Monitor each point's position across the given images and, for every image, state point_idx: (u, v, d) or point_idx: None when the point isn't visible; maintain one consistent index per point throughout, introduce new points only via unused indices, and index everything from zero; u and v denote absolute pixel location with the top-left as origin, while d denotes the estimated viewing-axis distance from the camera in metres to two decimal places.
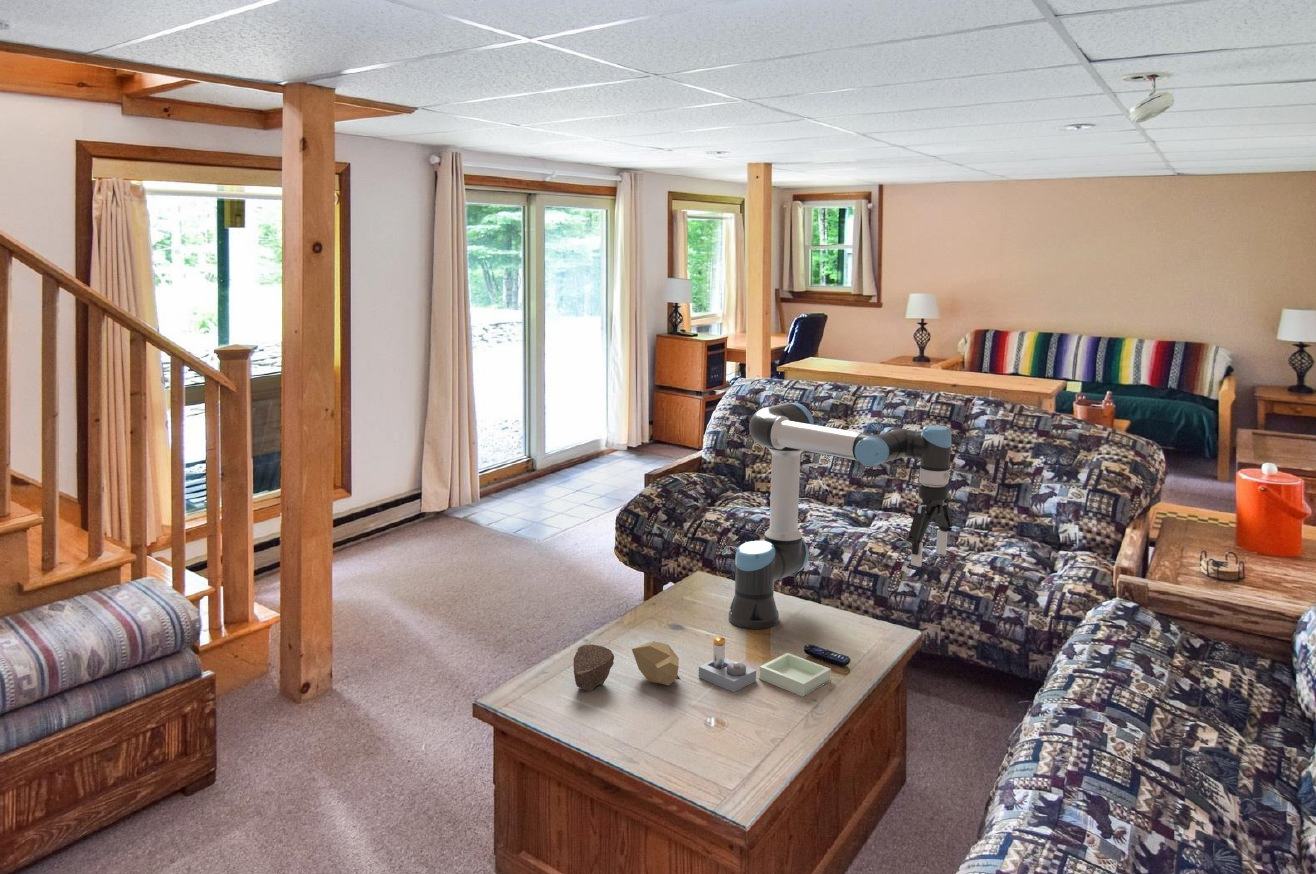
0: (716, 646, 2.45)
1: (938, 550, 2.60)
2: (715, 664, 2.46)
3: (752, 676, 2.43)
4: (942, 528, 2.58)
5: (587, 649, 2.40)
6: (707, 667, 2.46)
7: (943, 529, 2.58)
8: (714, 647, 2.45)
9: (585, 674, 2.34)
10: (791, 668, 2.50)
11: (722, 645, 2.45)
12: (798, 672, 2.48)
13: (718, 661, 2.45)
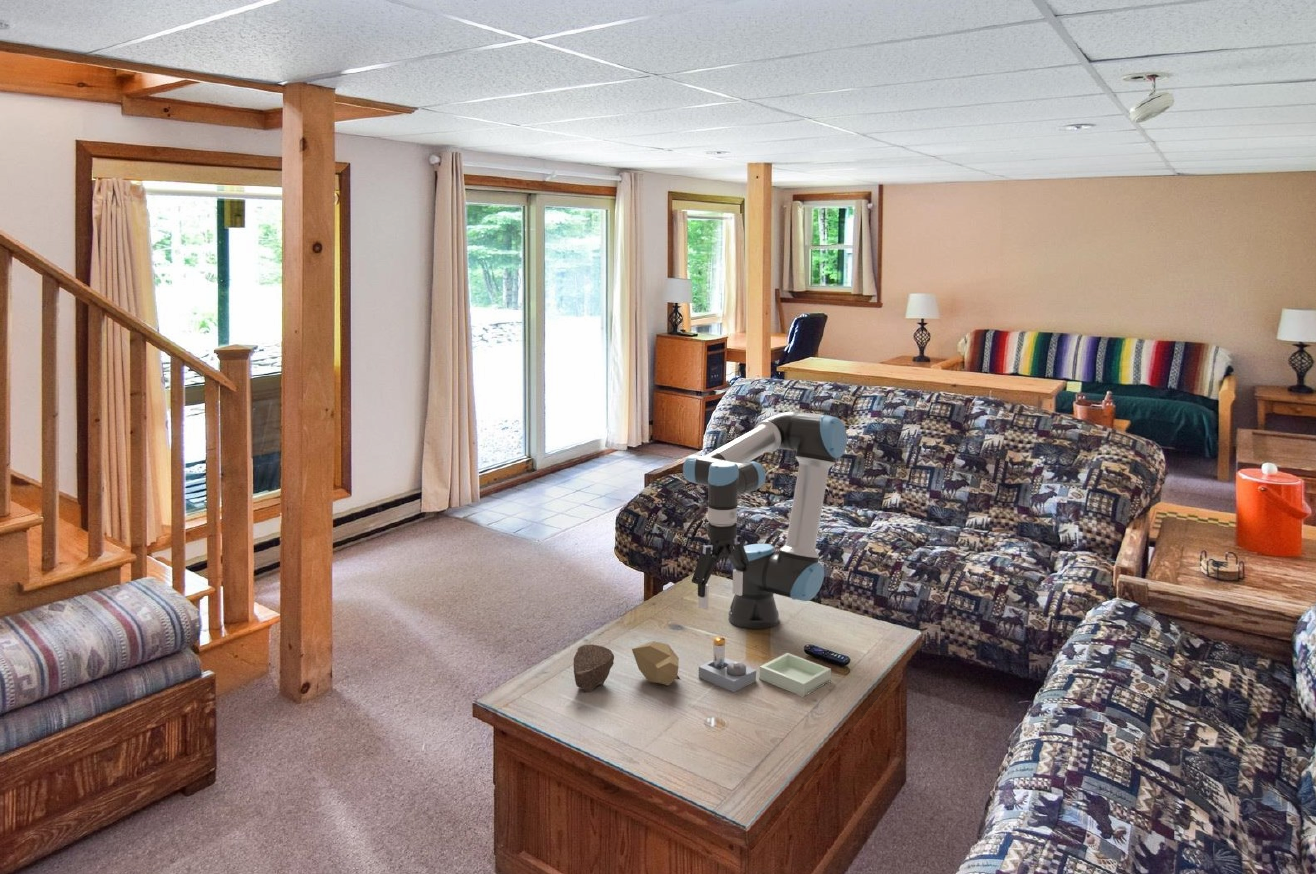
0: (716, 646, 2.45)
1: (734, 591, 2.48)
2: (715, 664, 2.46)
3: (752, 676, 2.43)
4: (738, 568, 2.47)
5: (587, 649, 2.41)
6: (707, 667, 2.46)
7: (739, 569, 2.47)
8: (714, 647, 2.45)
9: (585, 674, 2.34)
10: (791, 668, 2.50)
11: (722, 645, 2.45)
12: (798, 672, 2.48)
13: (718, 661, 2.45)
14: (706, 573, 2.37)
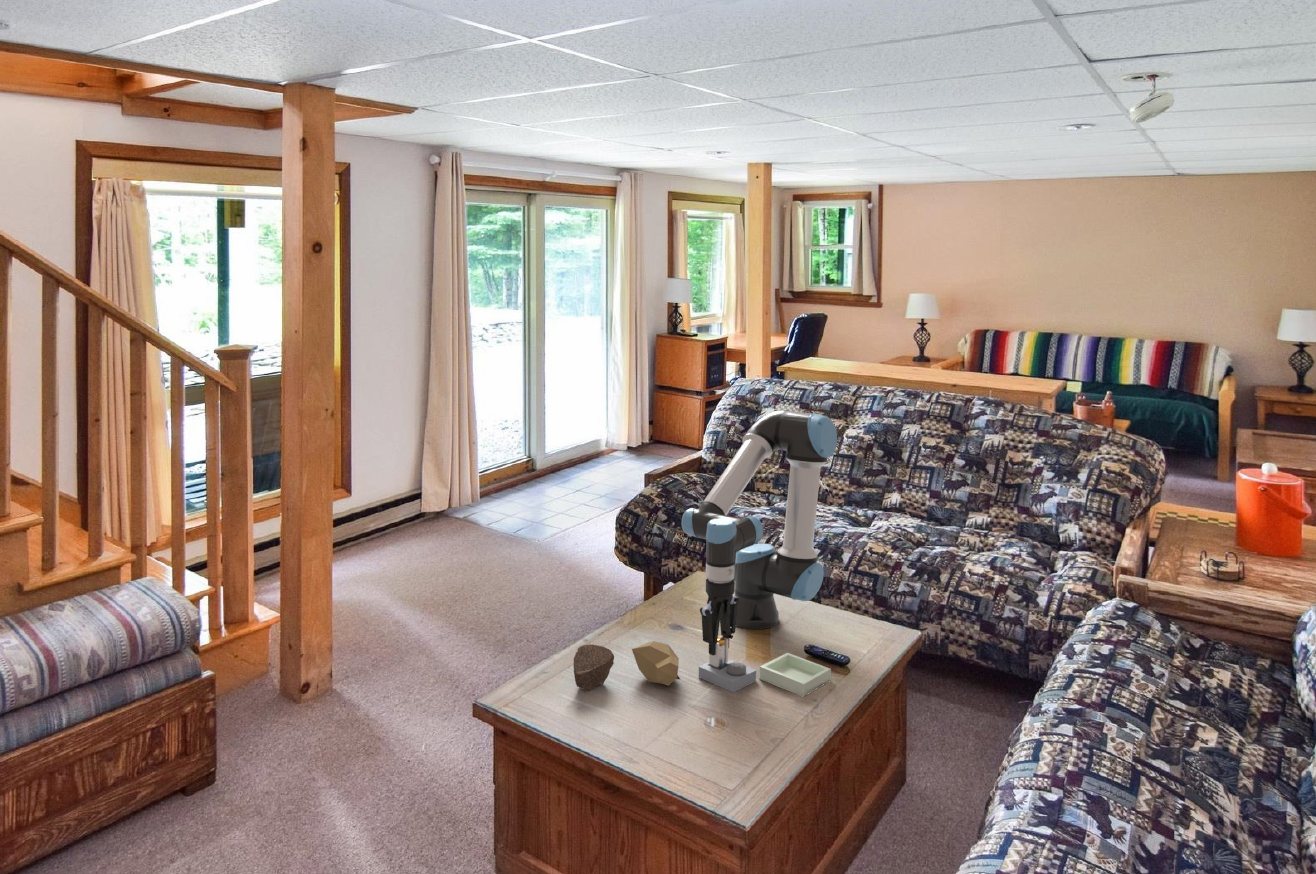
0: None
1: None
2: None
3: (752, 676, 2.43)
4: (724, 633, 2.47)
5: (587, 649, 2.40)
6: (707, 667, 2.46)
7: (724, 636, 2.47)
8: None
9: (585, 674, 2.34)
10: (791, 668, 2.50)
11: (722, 645, 2.45)
12: (798, 672, 2.48)
13: None
14: (713, 632, 2.43)
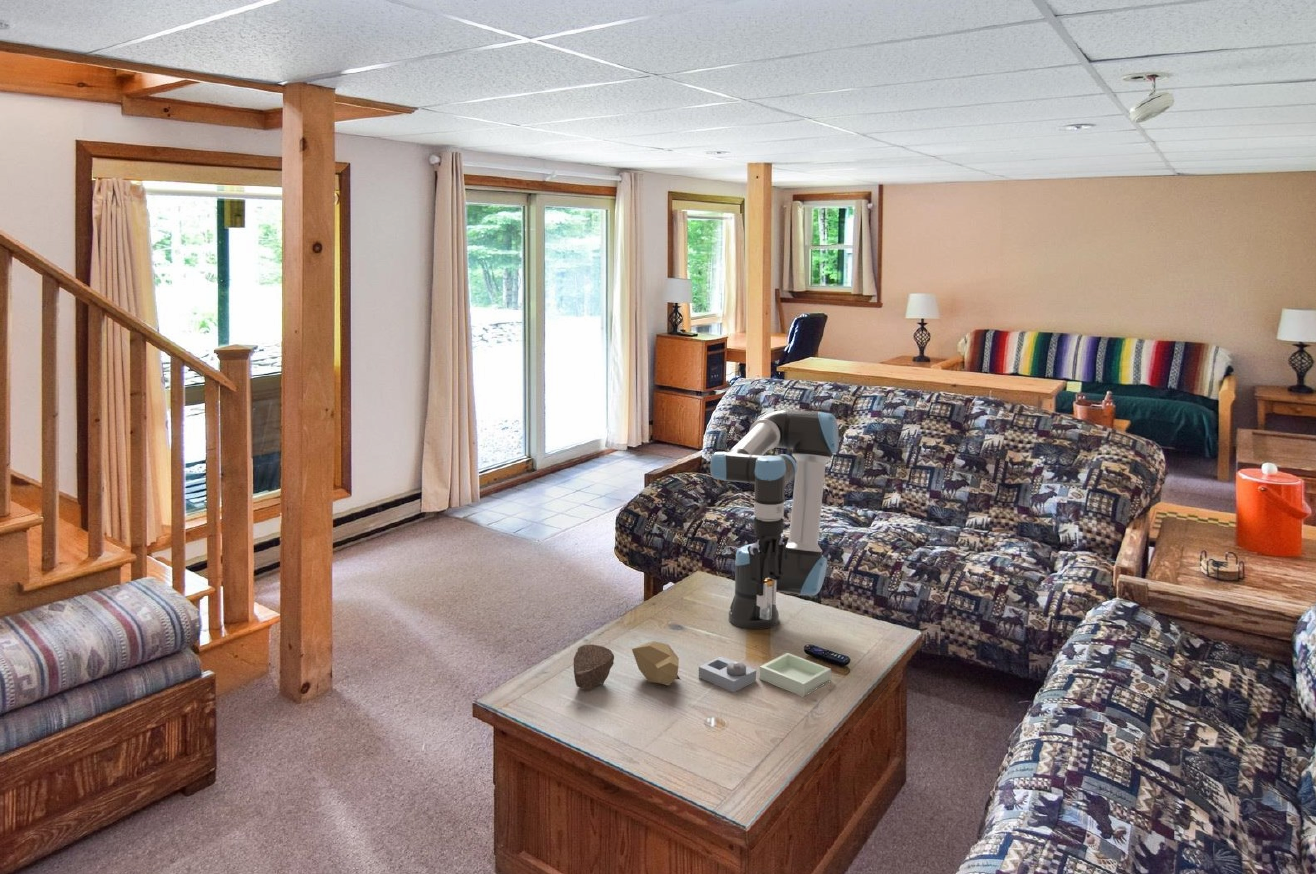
0: None
1: None
2: None
3: (752, 676, 2.43)
4: (772, 575, 2.42)
5: (587, 649, 2.41)
6: (707, 667, 2.46)
7: (772, 577, 2.42)
8: None
9: (585, 674, 2.34)
10: (791, 668, 2.50)
11: (770, 586, 2.40)
12: (798, 672, 2.48)
13: None
14: (761, 572, 2.38)
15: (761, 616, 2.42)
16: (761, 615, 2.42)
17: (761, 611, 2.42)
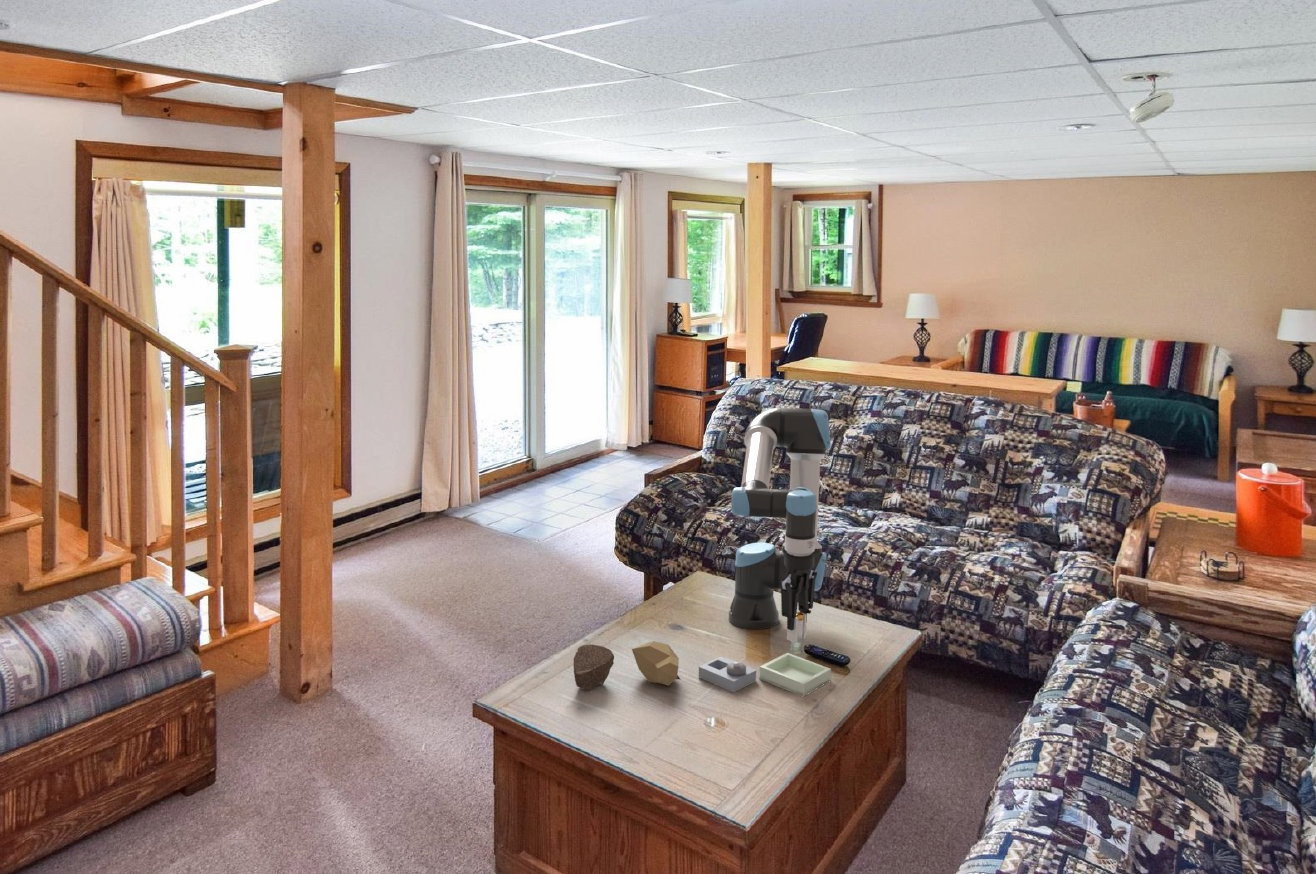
0: None
1: None
2: None
3: (752, 676, 2.43)
4: (801, 608, 2.43)
5: (587, 649, 2.41)
6: (707, 667, 2.46)
7: (802, 611, 2.43)
8: None
9: (585, 674, 2.34)
10: (791, 668, 2.50)
11: (801, 620, 2.40)
12: (798, 672, 2.48)
13: None
14: (792, 607, 2.38)
15: (792, 650, 2.42)
16: (792, 649, 2.42)
17: (792, 645, 2.42)
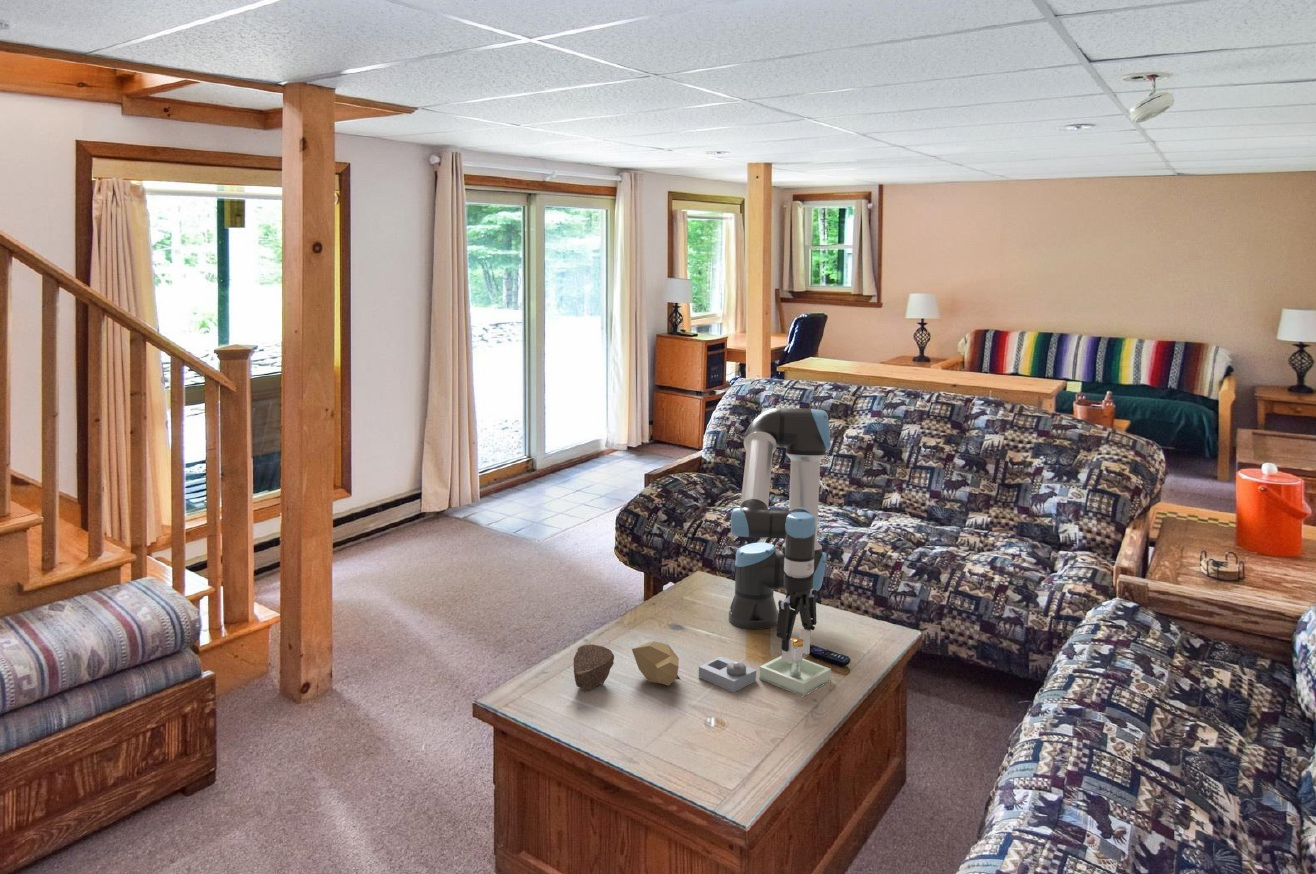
0: (795, 647, 2.42)
1: None
2: (792, 665, 2.43)
3: (752, 676, 2.43)
4: (805, 625, 2.46)
5: (587, 649, 2.40)
6: (707, 667, 2.46)
7: (806, 627, 2.45)
8: None
9: (585, 674, 2.34)
10: None
11: (801, 646, 2.42)
12: None
13: (796, 662, 2.43)
14: (788, 627, 2.38)
15: (791, 676, 2.44)
16: (791, 675, 2.44)
17: (791, 671, 2.44)
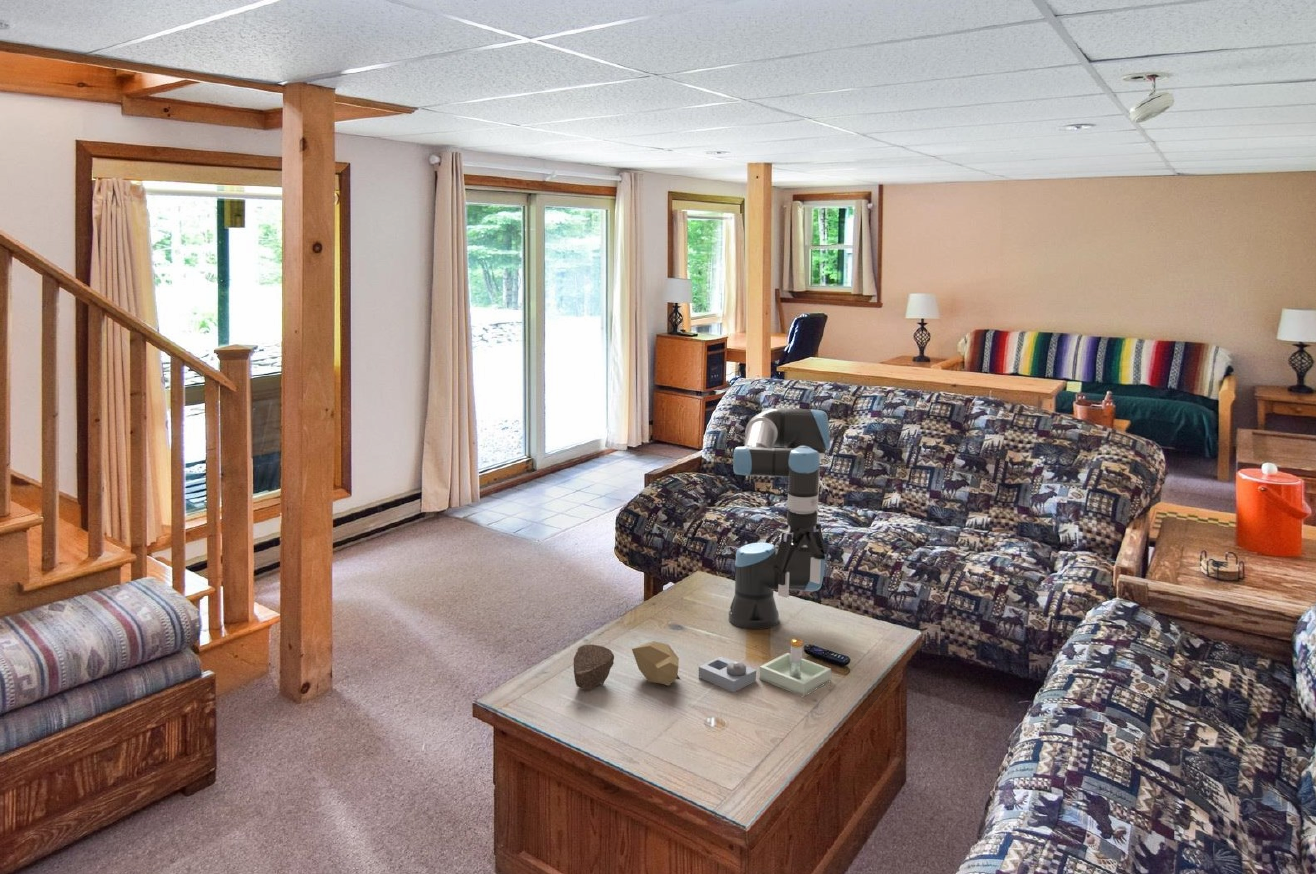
0: (794, 648, 2.42)
1: (812, 579, 2.46)
2: (792, 666, 2.43)
3: (752, 676, 2.43)
4: (816, 555, 2.45)
5: (587, 649, 2.41)
6: (707, 667, 2.46)
7: (817, 556, 2.45)
8: (792, 649, 2.43)
9: (585, 674, 2.34)
10: None
11: (800, 647, 2.42)
12: None
13: (795, 663, 2.43)
14: (787, 561, 2.34)
15: (791, 676, 2.44)
16: (791, 675, 2.44)
17: (791, 671, 2.44)
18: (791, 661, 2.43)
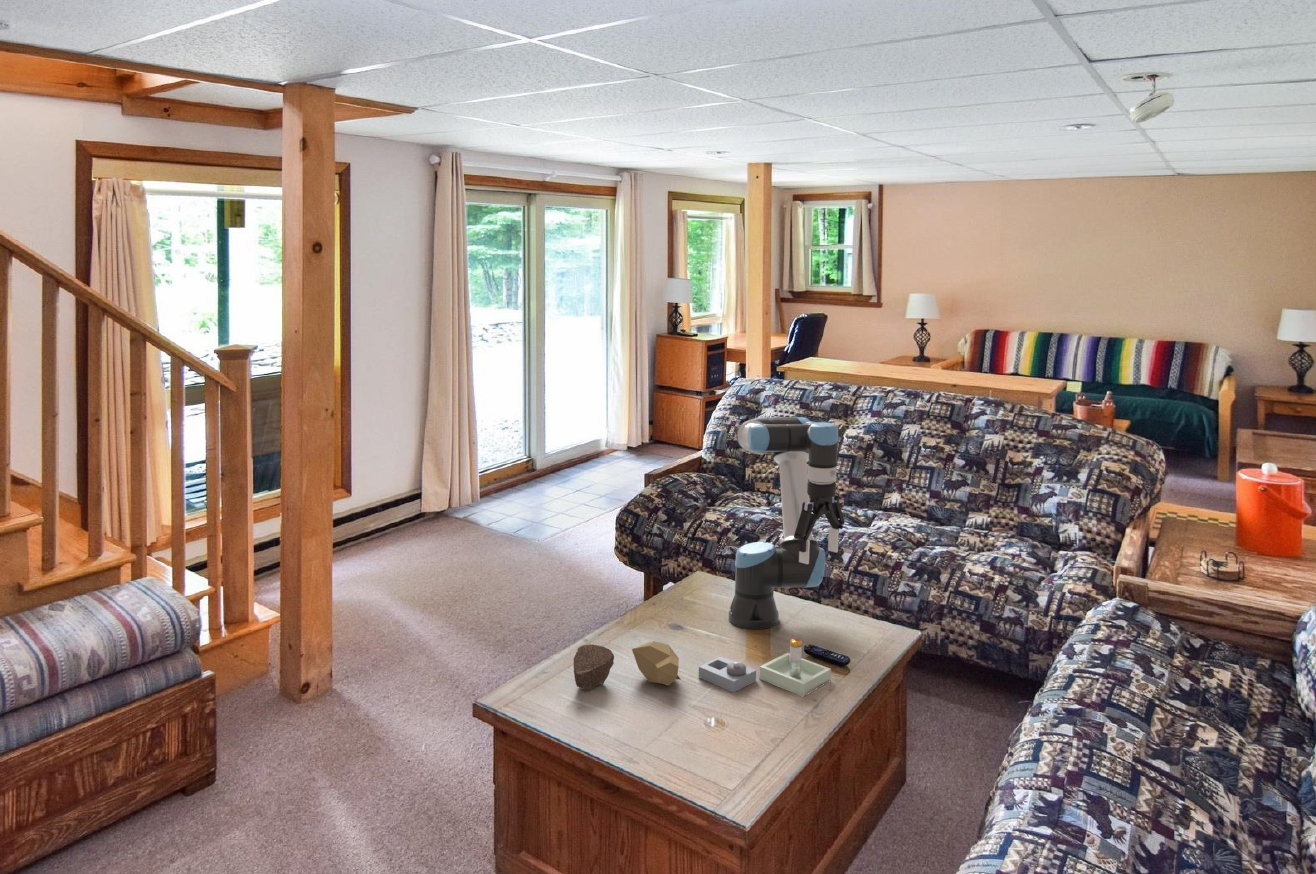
0: (793, 648, 2.42)
1: (830, 548, 2.59)
2: (792, 666, 2.43)
3: (752, 676, 2.43)
4: (834, 525, 2.58)
5: (587, 649, 2.41)
6: (707, 667, 2.46)
7: (835, 526, 2.58)
8: (791, 649, 2.43)
9: (585, 674, 2.34)
10: None
11: (799, 647, 2.42)
12: None
13: (795, 663, 2.43)
14: (807, 529, 2.47)
15: (791, 676, 2.44)
16: (791, 675, 2.44)
17: (791, 671, 2.44)
18: (791, 661, 2.43)
